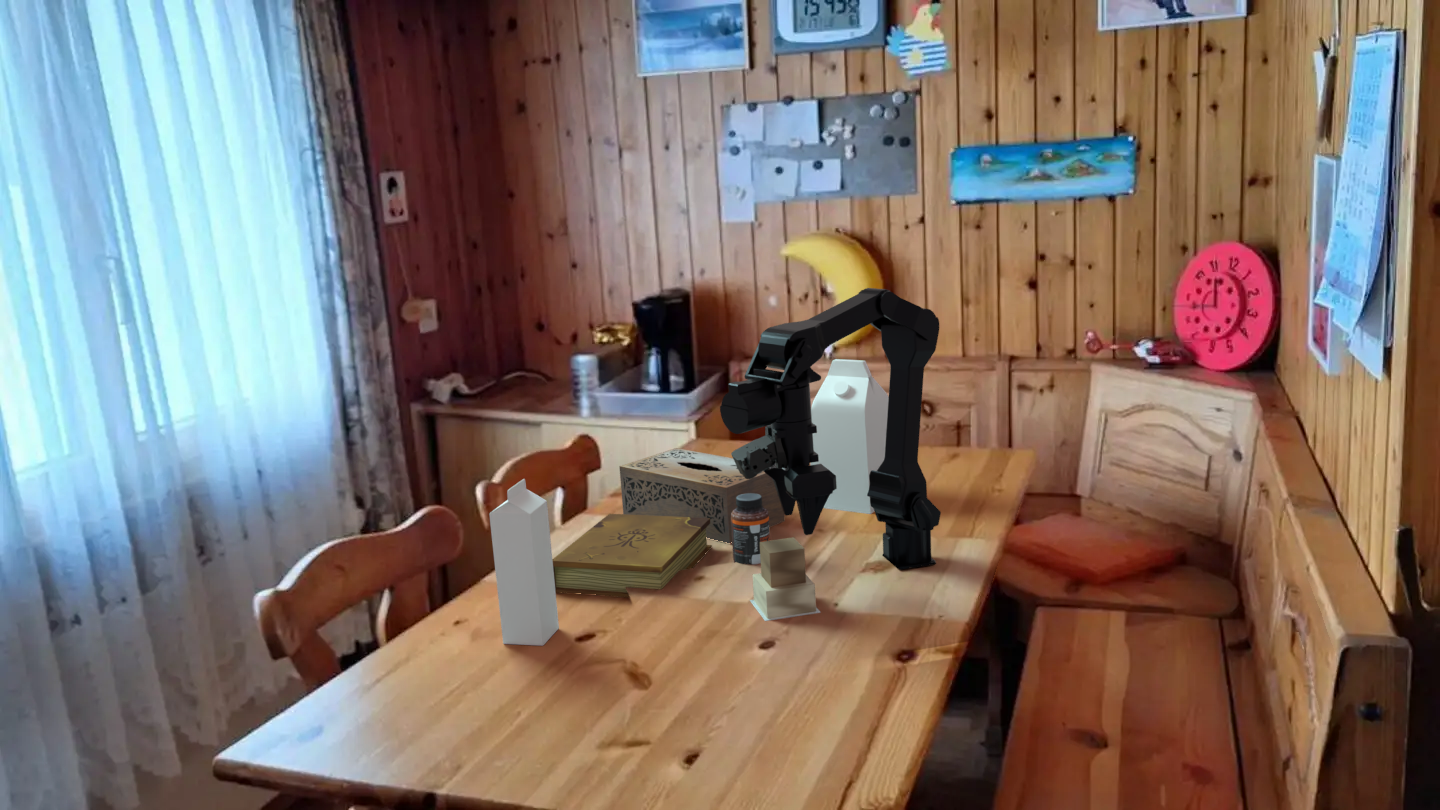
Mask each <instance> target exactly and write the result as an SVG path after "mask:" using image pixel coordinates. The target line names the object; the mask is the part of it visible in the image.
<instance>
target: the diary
mask: <svg viewBox="0 0 1440 810" xmlns="http://www.w3.org/2000/svg"><path fill="white" fill-rule="evenodd" d="M709 524H710V518H696V517H674V516H651V515H629V514H623V513H608V514H607V515H606V516H604V518H602V519H601V520H599V521H598V522H597V523H595V524H594V525H593V526H592V527H591V528H590V529H589V530H587V531H586V532H585V533H583V534H582V535H581V536H579V537H578V538H577V539H576V540H575V541H574V542H572V543H571V544H570V545H568V546H567V547H566V548H565V549H564V550H562V551H561V552H560V553H558V554H557V555H556V556H555V557H553V558H552V560H553V571H554V581H555V592H562V593H561V594H567V593H581V594H580V595H583V594H596V595H595V596H598V595H605V596H604V597H614V596H615V597H617V596H618V597H619V598H631V597H630V594H629V592H628V590H627V588H636V589H637V588H638V589H650V590H662V589H663V588H665V586H667V584H668V583H669V582H670V581H671V580H672V579H673V578H674V577H675V576H676V575H677V573H679V571H685V570H692V568H693V569H694V568H695V566H696V565H697V564H698V563H699V562H700V561H701V560H702V559H703V558H704V557H705V555H706V554H707V553H708V552H709V551H710V550H711V549H712V548H711V547H713V545H712V544H708V541H707V540H708V539H706V527H707V526H708V525H709ZM710 548H711V549H710ZM709 549H710V550H709ZM708 550H709V551H708ZM707 551H708V552H707ZM706 552H707V553H706ZM705 553H706V554H705ZM703 556H704V557H703ZM702 557H703V558H702ZM701 558H702V559H701ZM700 559H701V560H700ZM699 560H700V561H699ZM698 561H699V562H698ZM697 562H698V563H697ZM615 597H614V598H615ZM618 597H617V598H618Z"/></svg>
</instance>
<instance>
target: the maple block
mask: <svg viewBox="0 0 1440 810" xmlns="http://www.w3.org/2000/svg"><path fill="white" fill-rule="evenodd" d="M752 585H753V586H752V591H753V600H754V602H755V603H756V604H757V606H758V607H759V608H760V610H761V611H762V612H763V614H764V615H765V616H766V618H767V619H770V618H777V617H783V616H790V615H796V614H803V613H809V612H816V607H817V603H816V602H817V599H816V597H817V596H816V584H815V583H814V582H813V580H812V579H811V578H810V577H809V575H807V574H806V583H800V584H794V585H787V586H780V587H773V588H771V587H770V586H769V584H768V583H767V582H766V581H765V579H764V578H763V577H762V576H761V572H759V573H753V574H752Z"/></svg>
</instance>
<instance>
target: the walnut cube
mask: <svg viewBox="0 0 1440 810" xmlns="http://www.w3.org/2000/svg"><path fill="white" fill-rule="evenodd" d="M805 553H806V552H805V547H804V546H803V545H802V544H801V543H800V542H799V541H798V540H797V539H796V538H795V537H787V538H778V539H773V540H771V539H770V541H764V542H760V558H761V563H760V571H761V572H760V573H761V576H762V577H763V578H764V579H765V581H766V582H767V583H768V584H769V586H770V587H771V588H773V587H780V586H787V585H794V584H800V583H806V575H807V574H806V573H807V572H806V556H805V555H806V554H805Z"/></svg>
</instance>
